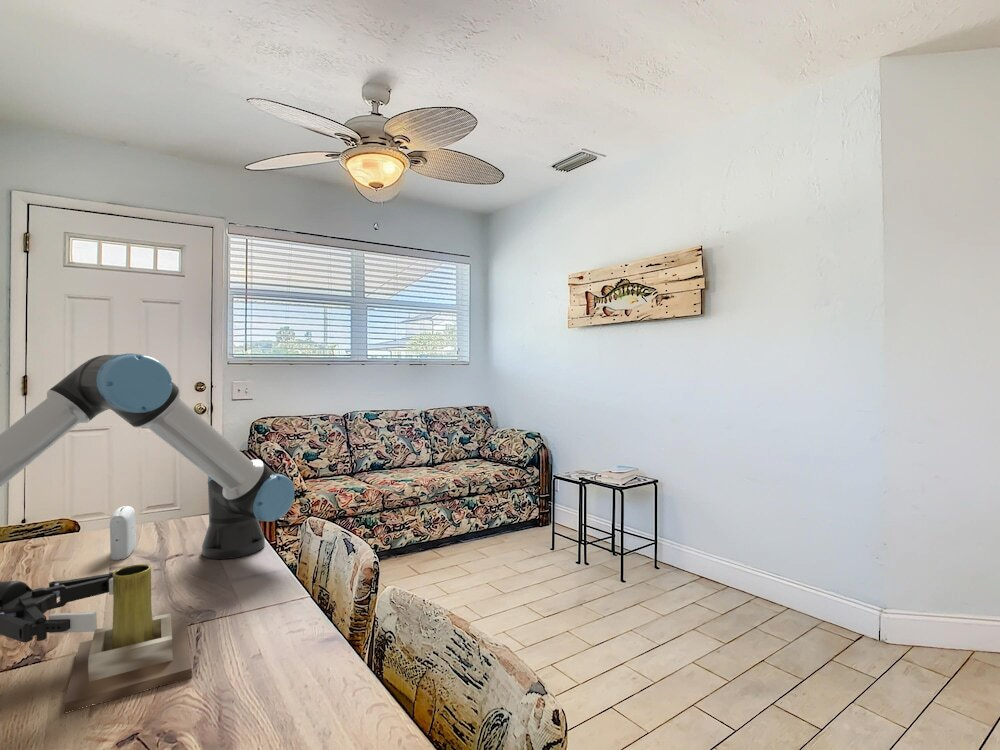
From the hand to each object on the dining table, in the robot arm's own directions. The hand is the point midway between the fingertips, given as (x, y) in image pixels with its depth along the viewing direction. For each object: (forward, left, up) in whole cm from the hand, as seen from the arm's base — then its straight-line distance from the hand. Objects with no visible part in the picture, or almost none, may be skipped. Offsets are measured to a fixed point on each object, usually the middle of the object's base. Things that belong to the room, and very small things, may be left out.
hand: (123, 602), depth 89 cm
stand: (-1, 0, -11) cm, 11 cm away
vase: (-1, 0, -9) cm, 9 cm away
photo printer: (+3, -65, -11) cm, 66 cm away
